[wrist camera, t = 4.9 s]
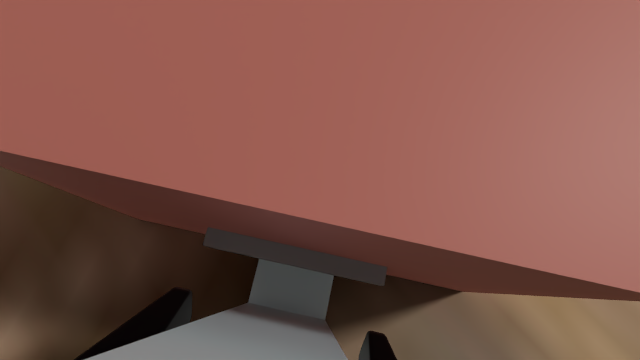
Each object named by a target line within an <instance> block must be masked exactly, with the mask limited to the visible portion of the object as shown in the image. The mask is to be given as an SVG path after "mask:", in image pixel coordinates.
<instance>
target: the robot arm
mask: <svg viewBox="0 0 640 360" xmlns="http://www.w3.org/2000/svg"><path fill="white" fill-rule="evenodd" d="M191 315H192V291H191V290H189V289H184V288H180V287H175V288H173V289H171V290H170V291H169V292H167V293H166V294H164V295H163V296H162V297H160V298H159V299H157V300H156V301H155V302H153V303H152V304H150V305H149V306H148V307H146V308H145V309H144V310H142V311H141V312H139V313H138V314H137V315H135V316H134V317H132V318H131V319H130V320H128V321H127V322H125V323H124V324H123V325H121V326H120V327H118V328H117V329H116V330H114V331H113V332H112V333H110V334H109V335H107V336H106V337H105V338H103V339H102V340H100V341H99V342H98V343H96V344H95V345H93V346H92V347H91V348H89V349H88V350H87V351H85V352H84V353H82V354H81V355H80V356H78V357H77V358H75V359H74V360H84V359H87V358H90V357H93V356H96V355H99V354H101V353H104V352H107V351H110V350H113V349H116V348H119V347H122V346H124V345H127V344H130V343H133V342H136V341H139V340H142V339H145V338H147V337H150V336H153V335H156V334H159V333H162V332H165V331H168V330H171V329H173V328H176V327H179V326H182V325H185V324H188V323H189V322H190V319H191ZM359 360H397V359H396V357H395V355H394V352H393V350H392V348H391V346H390V344H389V342H388V340H387V337H386V336H385V335H384V334H383V333H379V332H374V331H368V333H367V334H366V337H365V340H364V342H363V345H362V348H361V351H360V354H359Z"/></svg>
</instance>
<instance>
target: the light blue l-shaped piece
mask: <svg viewBox="0 0 640 360" xmlns="http://www.w3.org/2000/svg"><path fill="white" fill-rule="evenodd" d="M333 278H334V275H330V274H325V273H321V272H316V271H312V270H308V269H303V268H299V267H294V266H290V265H285V264H281V263H276V262H272V261H267V260H263V259H259V261H258V265H257V269H256V273H255V277H254V281H253V285H252V289H251V293H250V297H249V301H248V303H245V304H242V305H240V306H237V307H234V308H231V309H228V310H225V311H222V312H219V313H217V314H214V315H211V316H208V317H205V318H202V319H199V320H196V321H194V322H191V323H188V324H185V325H182V326H179V327H176V328H173V329H171V330H168V331H165V332H162V333H159V334H156V335H153V336H150V337H147V338H145V339H142V340H139V341H136V342H133V343H130V344H127V345H124V346H122V347H119V348H116V349H113V350H110V351H107V352H104V353H101V354H99V355H96V356H93V357H90V358H87V359H84V360H348V359H347V358H346V356H345V354H344V352H343V351H342V349H341V347H340V345H339V344H338V342H337V340H336V338H335V337H334V335H333V333H332V331H331V330H330V328H329V326H328V324H327V323H326V321H325V317H326V312H327V307H328V302H329V297H330V293H331V288H332V283H333Z"/></svg>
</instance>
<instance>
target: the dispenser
mask: <svg viewBox="0 0 640 360" xmlns="http://www.w3.org/2000/svg"><path fill="white" fill-rule="evenodd" d="M0 166H1V167H3V168H6V169H9V170H11V171H14V172H16V173H19V174H22V175H24V176H27V177H29V178H32V179H35V180H37V181H40V182H42V183H45V184H48V185H50V186H53V187H55V188H58V189H61V190H63V191H66V192H68V193H71V194H74V195H76V196H79V197H81V198H84V199H87V200H89V201H92V202H94V203H97V204H100V205H102V206H105V207H107V208H110V209H113V210H115V211H118V212H120V213H123V214H126V215H128V216H131V217H133V218H136V219H140V220H144V221H149V222H153V223H158V224H162V225H167V226H171V227H176V228H180V229H184V230H189V231H193V232H198V233H202V234H206V235H205V238H204V242H203V245H204V246H206V247H209V248H214V249H218V250H223V251H227V252H232V253H236V254H241V255H245V256H250V257H254V258H258V259H263V260H267V261H272V262H276V263H281V264H285V265H290V266H294V267H299V268H303V269H308V270H312V271H316V272H321V273H325V274H330V275H334V276H339V277H343V278H348V279H352V280H357V281H361V282H366V283H370V284H375V285H379V286H384V284H385V278H386V275H390V276H395V277H399V278H404V279H408V280H413V281H417V282H422V283H426V284H431V285H435V286H440V287H444V288H449V289H453V290H458V291H462V292H478V293H497V294H515V295H534V296H552V297H571V298H590V299H608V300H627V301H640V0H0Z"/></svg>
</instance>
